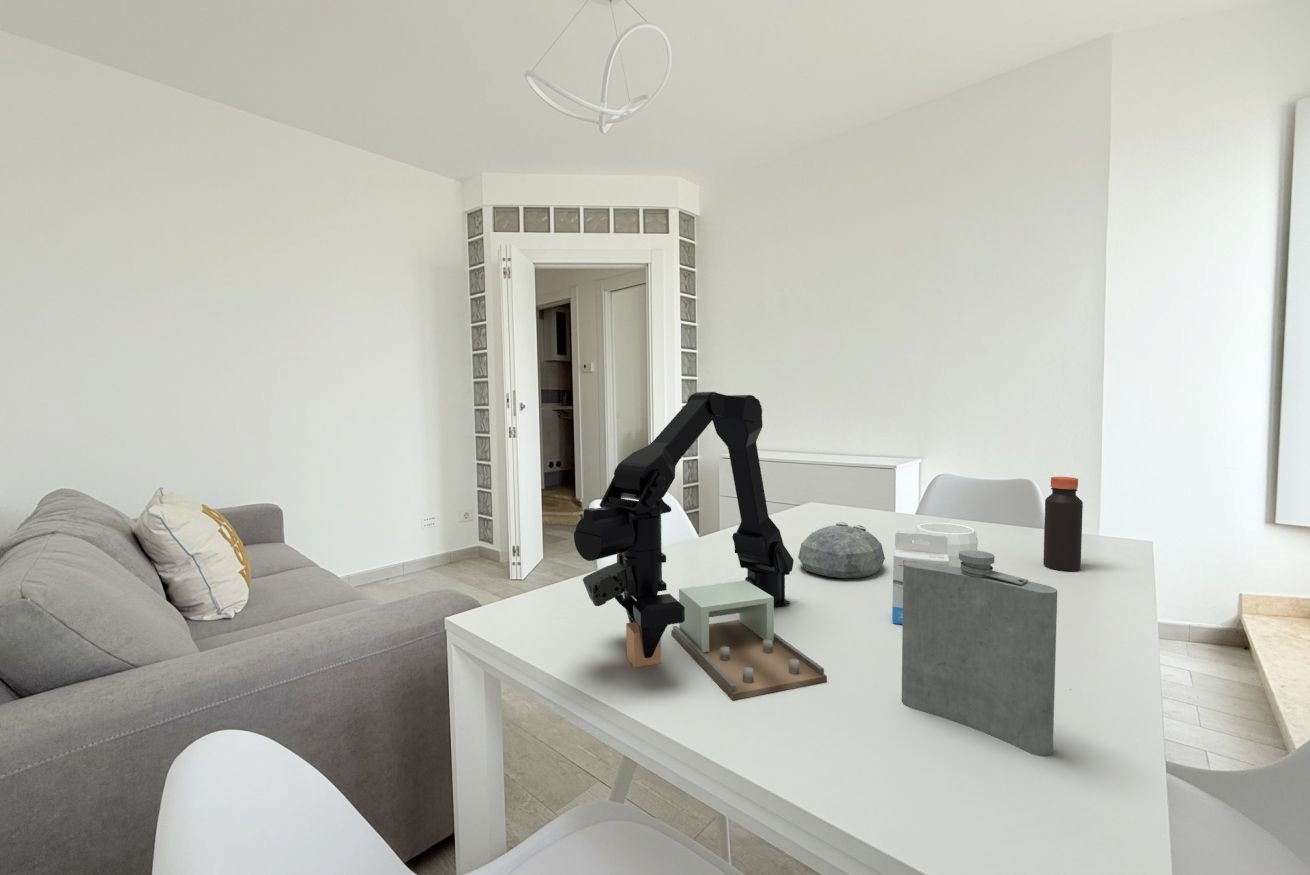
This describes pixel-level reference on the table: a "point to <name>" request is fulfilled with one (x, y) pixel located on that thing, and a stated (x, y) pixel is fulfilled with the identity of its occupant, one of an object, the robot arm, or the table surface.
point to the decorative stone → (842, 552)
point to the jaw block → (639, 647)
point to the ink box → (913, 552)
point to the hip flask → (981, 649)
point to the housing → (726, 609)
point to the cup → (950, 538)
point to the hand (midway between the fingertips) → (643, 651)
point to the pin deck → (751, 661)
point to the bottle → (1063, 525)
